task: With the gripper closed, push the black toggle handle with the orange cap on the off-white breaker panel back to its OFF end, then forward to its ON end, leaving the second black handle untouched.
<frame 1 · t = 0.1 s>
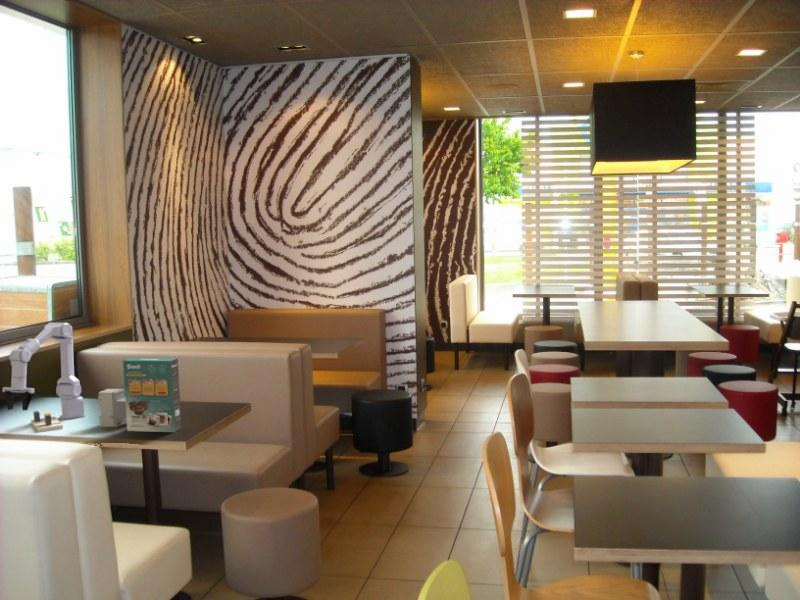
hand: (17, 409, 358), 11 cm above the table, tool pointing down, fingers open, 7 cm apart
cake mix box: (154, 430, 360), on the table
breaker panel: (46, 425, 373), on the table
breaker handle: (47, 418, 368), point 4 cm above the table, slide at 3.0 cm
circuit breaker: (119, 425, 371), on the table
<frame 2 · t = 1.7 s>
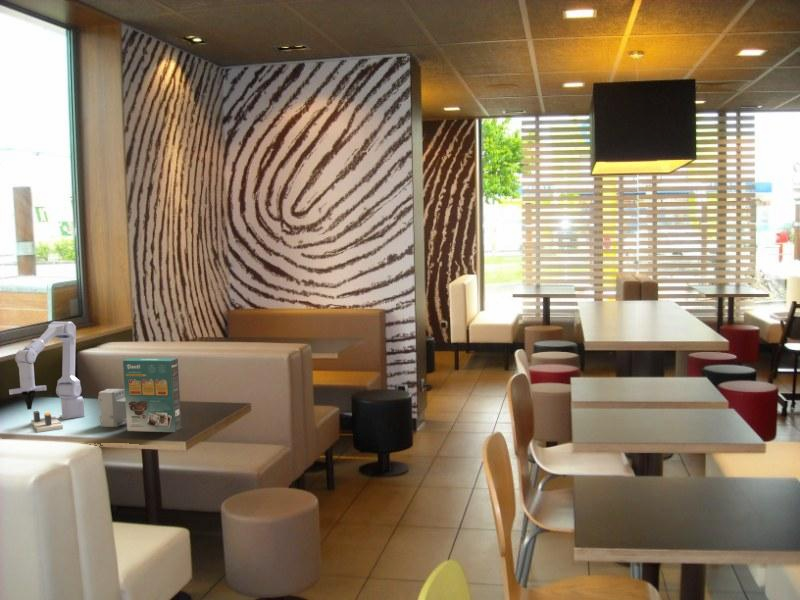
hand: (29, 409, 364), 9 cm above the table, tool pointing down, fingers closed
nothing on the table moved.
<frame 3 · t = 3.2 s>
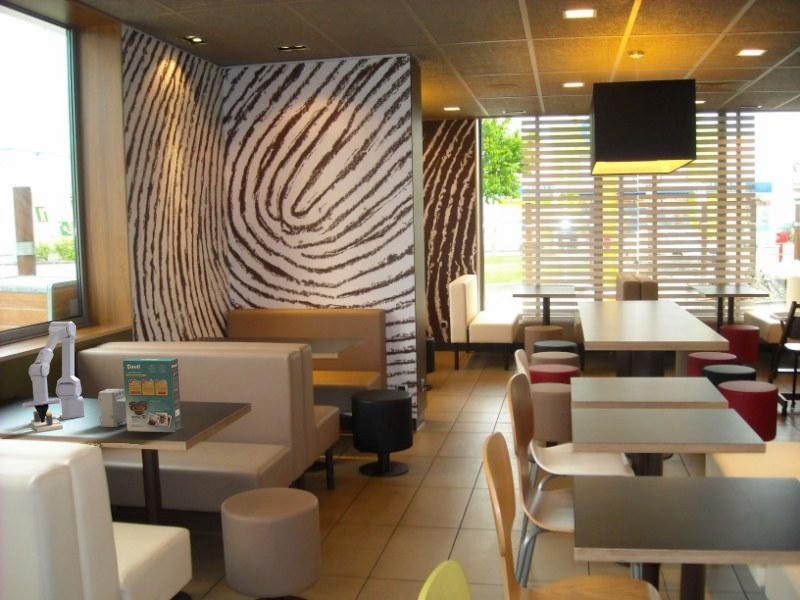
hand: (42, 422, 367), 3 cm above the table, tool pointing down, fingers closed
breaker handle: (49, 418, 368), point 4 cm above the table, slide at 2.5 cm, touching gripper
everything else where it was.
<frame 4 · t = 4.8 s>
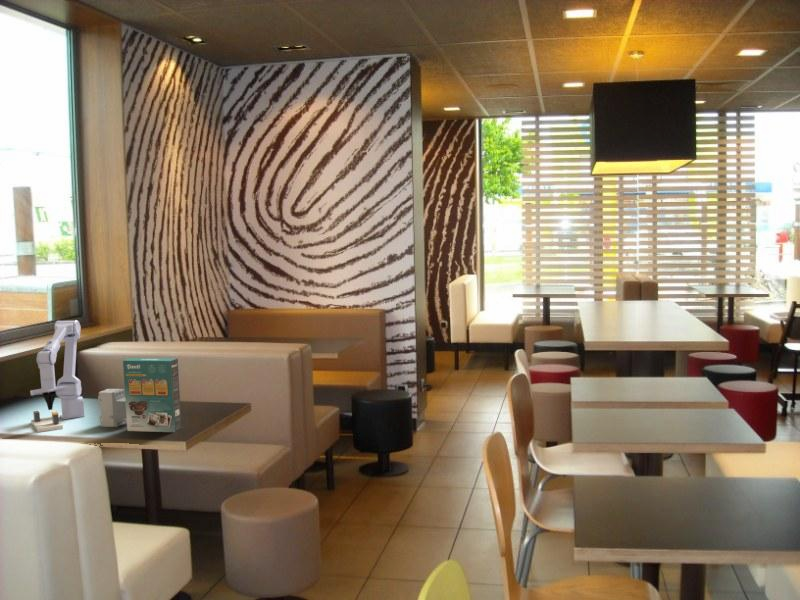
hand: (50, 409, 368), 8 cm above the table, tool pointing down, fingers closed
breaker handle: (55, 417, 370), point 4 cm above the table, slide at -0.1 cm
everything else where it was.
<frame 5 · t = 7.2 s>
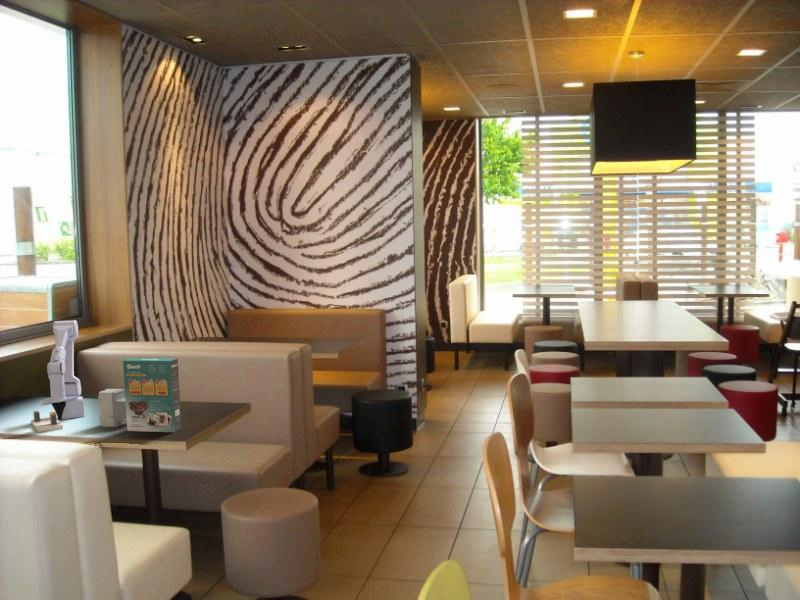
hand: (59, 419, 371), 3 cm above the table, tool pointing down, fingers closed
breaker handle: (53, 418, 369), point 4 cm above the table, slide at 0.8 cm, touching gripper
everything else where it was.
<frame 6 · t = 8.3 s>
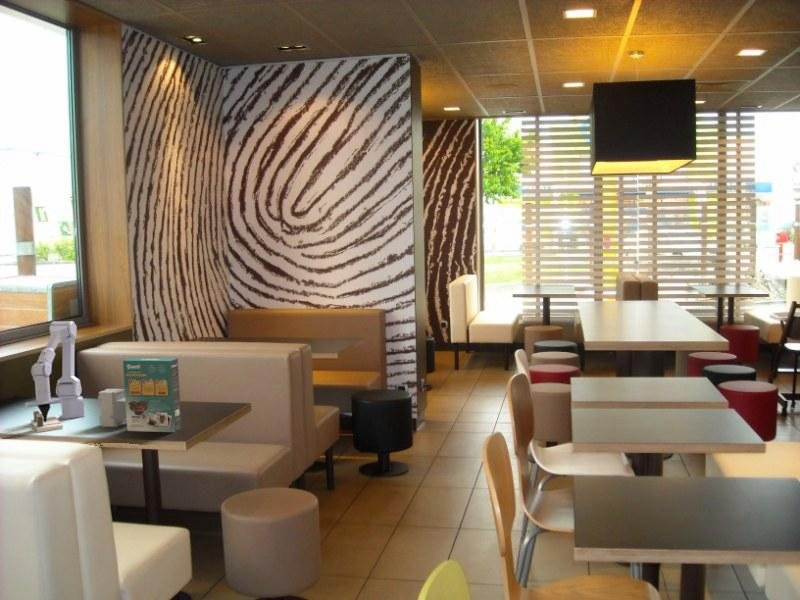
hand: (45, 421, 368), 3 cm above the table, tool pointing down, fingers closed
breaker handle: (39, 419, 366), point 4 cm above the table, slide at 6.3 cm, touching gripper
everything else where it was.
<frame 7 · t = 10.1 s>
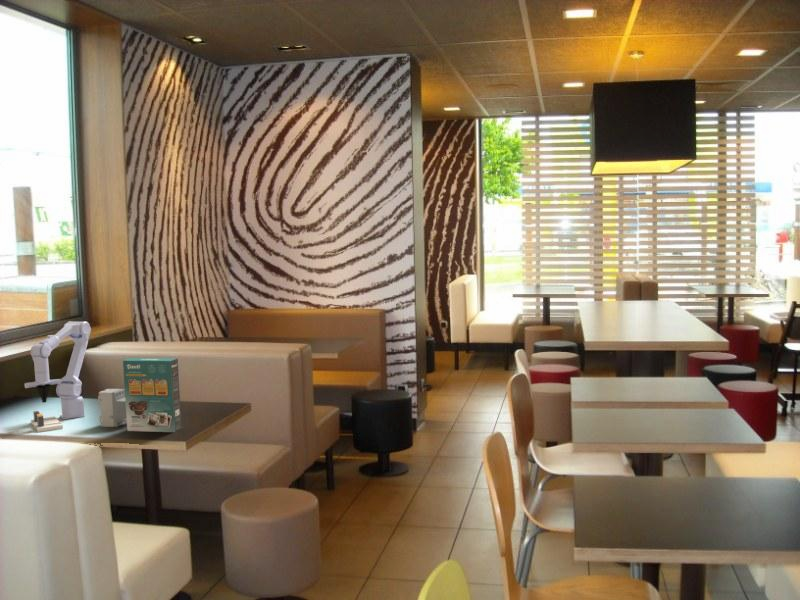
hand: (44, 402, 373), 10 cm above the table, tool pointing down, fingers closed
breaker handle: (40, 419, 367), point 4 cm above the table, slide at 6.1 cm
everything else where it was.
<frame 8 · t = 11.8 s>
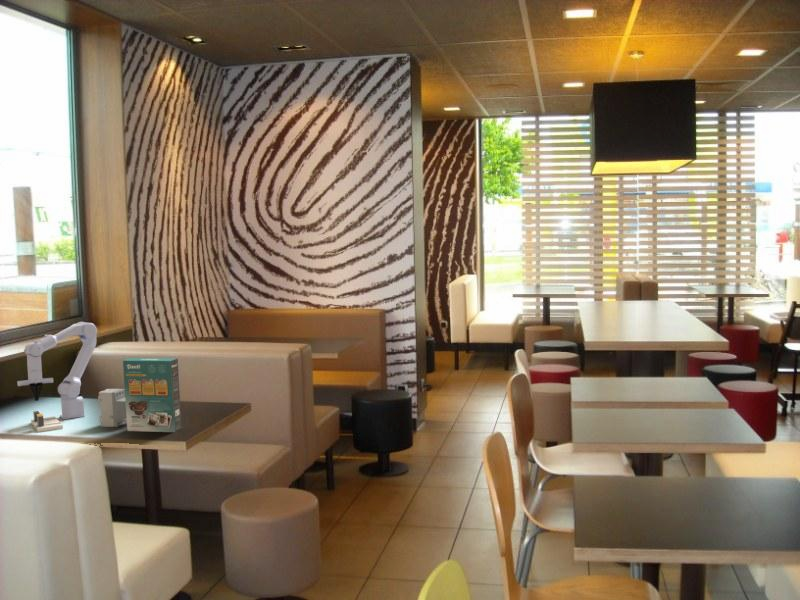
hand: (36, 400, 377), 10 cm above the table, tool pointing down, fingers closed
nothing on the table moved.
at the end: breaker handle slide at 6.1 cm; circuit breaker moved 0.2 cm from its start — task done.
